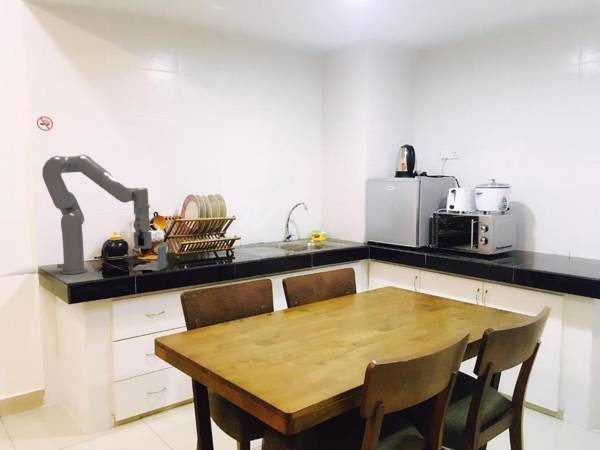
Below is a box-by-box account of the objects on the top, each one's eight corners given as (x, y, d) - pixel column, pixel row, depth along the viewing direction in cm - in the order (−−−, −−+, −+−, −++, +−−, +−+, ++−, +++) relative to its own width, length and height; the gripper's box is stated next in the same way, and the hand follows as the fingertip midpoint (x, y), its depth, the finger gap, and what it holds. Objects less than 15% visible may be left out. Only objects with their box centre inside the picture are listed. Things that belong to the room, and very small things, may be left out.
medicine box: (151, 247, 268) (151, 231, 267) (148, 248, 263) (147, 232, 262) (137, 247, 269) (137, 231, 268) (134, 248, 264) (133, 232, 263)
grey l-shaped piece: (132, 270, 262) (131, 247, 261) (139, 266, 273) (138, 244, 271) (160, 270, 261) (159, 248, 260) (166, 266, 272) (166, 245, 271)
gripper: (142, 212, 255) (144, 247, 257) (153, 209, 272) (155, 242, 274) (128, 212, 256) (130, 247, 258) (140, 210, 272) (141, 242, 274)
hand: (142, 244), depth 266 cm, fingers closed on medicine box, 4 cm apart
